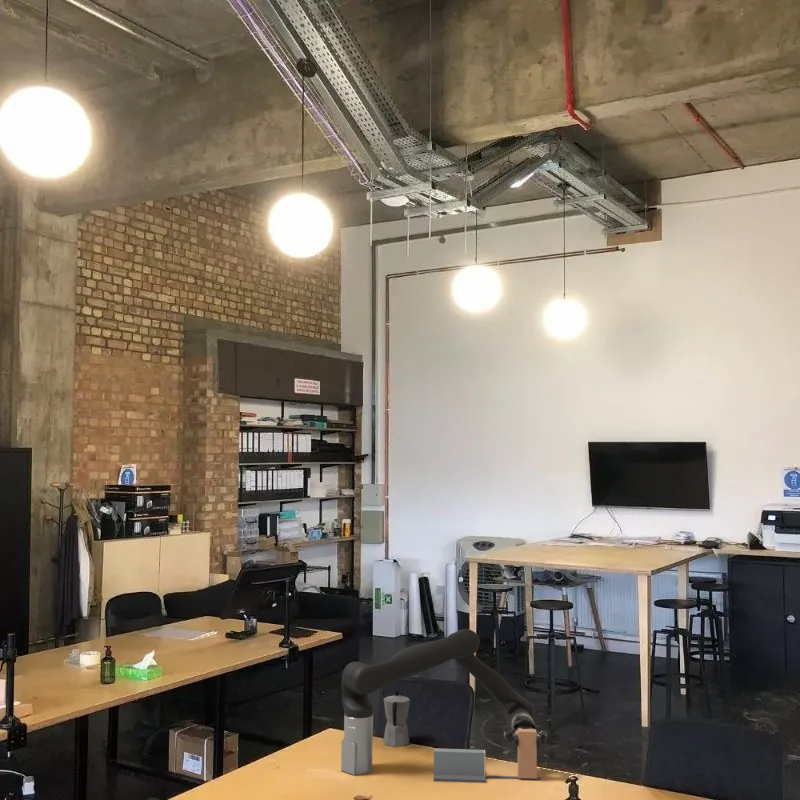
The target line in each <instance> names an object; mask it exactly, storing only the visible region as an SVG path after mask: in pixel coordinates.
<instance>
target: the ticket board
mask: <svg viewBox="0 0 800 800" xmlns="http://www.w3.org/2000/svg"><path fill="white" fill-rule="evenodd" d="M486 778H487V779H512V780H536V779H535V778H518V776H514V775H513V776H512V775H511V776H510V775H508V776H507V775H486V750H485V749H468V748H467V749H464V748H441V747H440V748H435V747H434V749H433V780H432V781H433V782H450V783H451V782H453V783H454V782H456V783H476V784H478V783H479V784H480V783H481V784H482V783H483V784H485V783H486ZM537 779H541V780H542V777H539V776H537Z"/></svg>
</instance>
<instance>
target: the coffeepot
mask: <svg viewBox="0 0 800 800" xmlns="http://www.w3.org/2000/svg"><path fill="white" fill-rule="evenodd" d="M399 693H400V691H399V690H397V689H395V690H394V695H389V696H385V697H384V698H383V703H384V713H385V718H386V720H387V721H386V723H385V724H386V725H385V728H384V729H385V730H384V734H383V743H385V744H384V745H386V746H388V747H393V748H394V747H396V748H397V747H404V746H407V745H409V743H410V738H409V736H410V735H409V732H408V725H407V719H408V716H409V708H410V702H411V699H410V698H409V697H407V696H405V695H404V696H403V695H400V694H399Z"/></svg>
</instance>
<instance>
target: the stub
mask: <svg viewBox="0 0 800 800" xmlns="http://www.w3.org/2000/svg"><path fill="white" fill-rule="evenodd" d="M536 730H537V728H536V729H518V738H519V746H517V777H518V778H535V779H534V780H536V779H537V777H538V776H537V769H538V768H537V765H538V764H537V763H538V762H537V756H538V755H537V753H538V752H537V750H538V749H537V746H536V739H537V733H536Z"/></svg>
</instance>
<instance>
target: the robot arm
mask: <svg viewBox="0 0 800 800" xmlns="http://www.w3.org/2000/svg"><path fill="white" fill-rule="evenodd" d="M480 643H481V642H480V637H479V635H478V634H477V633H476V632H475V631H473V630H471V629H469V628H463V629H460V630H456V631H455V632H452V633H450V634H449V635H448V636H447V637H445V638H444V637H443V638H441V639H436V640H430V641H425V642H423V643H418V644H415V645H412V646H408V647H406V648H404V649H401V650H400V651H397V652H396V654H394V655H393V657H391V658H390V659H389V660H386V661H384V662H380V663H375V664H371V665H369V664H366V663H364V662H363V663H362V662H359V661H351V662H349V663H348V664H347V665H346V666H345V667H344V669H343V671H342V675H341V703H342V706H343V710H344V714H343V715H344V718H343V719H344V721H343V724H344V725H343V726H344V727H343V739H342V740H341V751H340V752H341V754H340V756H341V758H340V759H341V763H340V765H341V766H340V770H341V772H345V773H347V774H350V775H353V776H356V775H364V774H369V773H371V772H372V771H373V753H374V752H373V746H374V745H373V742H374V739H373V737H374V706H373V704H372V703H371V701H370V699H369V697H368V695H370V694H373V693H375V692H376V691H379V690H380V689H382V688H384V687H386V686H388V685H390V684H393V683H396V682H400V681H402V680H405V679H407V678H411V677H414V676H418V675H421V674H423V673H425V672H428V671H430V670H432V669H435V668H436V667H437V668H438V666H441V665H442V664H444V663H447V662H448V661H452V660H455V661H456V662H457V663H458V664H459V665H461V666H462V667H463V668H464V669H465V670H466V671H467V672H469V674H471V676H473V678H475V679H476V680H477V681H478V682H479V683H480V684H481V685H482V687H484V688H485V690H486V691H487V692H488V693H489V695H491V697H492V698H493V700H495V702H496V703H497V704H498V705H500V706H505V705H507V704H509V703H514V704H512V706H510V707H509V708H508V709H507V710H506V711H505V713H504V717H505V720H506V722H507V724H508V725H509V726H510V727H511V730H510V729H508V728H503V738H504V739H505V740H506V741H507V742H508V743H512V742H513V744H514V745H516V747H518V746H519V738H518V729H536V733H537V739H536V746H537V747H540V746H541V745H542V744H546V743H547V738H548V737H547V736H548V735H547V734H548V733H547V729H543V730H540V731H538V729H537V728H536V725H535V721H534V719H533V716H534V715H535V714H536V713H535V711H536V709H535V706H534V705H533V703H532V702H530V701H529V700H528V699H526V698H525V697H524V696H523V695H520V694H519V693H518V692H517V691H515V690H514V689H513V688H512V687H511V686H510V684H509V683H508V682H507V681H506V679H504V677H503V676H502V675H501V674H499V673H498V672H497V671H496V670H494V669H493V668H491V667H490V666H488V665H487V664H486V663H484V662H483V661H481V660H480V659H479V658H478V656H476V655H475V654H476V652H477V651H478V649H479V647H480Z"/></svg>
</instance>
